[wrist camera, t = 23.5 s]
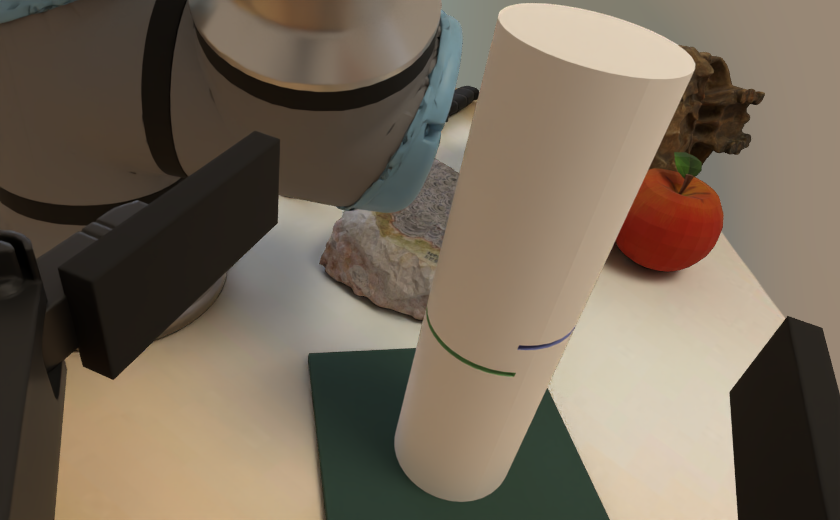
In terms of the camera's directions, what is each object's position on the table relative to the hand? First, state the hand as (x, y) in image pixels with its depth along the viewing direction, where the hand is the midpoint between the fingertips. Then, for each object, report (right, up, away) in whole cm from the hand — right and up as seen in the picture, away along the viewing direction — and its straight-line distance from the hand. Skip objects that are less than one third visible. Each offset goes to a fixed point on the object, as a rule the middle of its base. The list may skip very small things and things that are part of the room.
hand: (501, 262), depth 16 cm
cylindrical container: (0, -11, +22) cm, 24 cm away
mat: (0, -12, +22) cm, 25 cm away
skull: (+30, +14, +47) cm, 57 cm away
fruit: (+19, 0, +43) cm, 47 cm away
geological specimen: (-2, 0, +36) cm, 36 cm away
